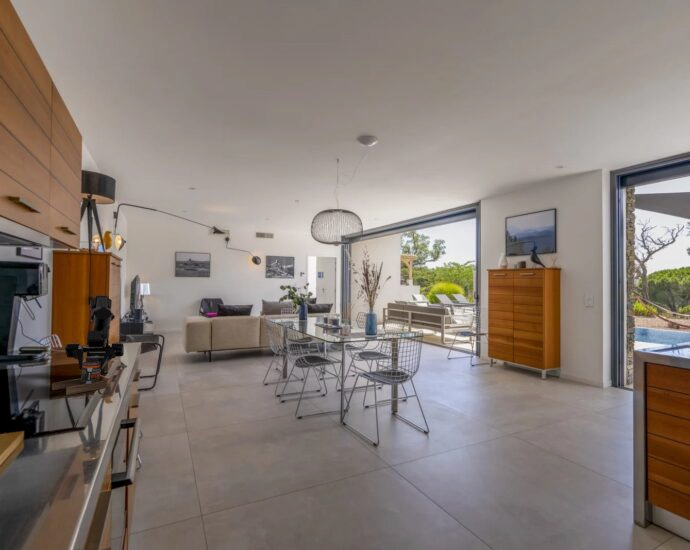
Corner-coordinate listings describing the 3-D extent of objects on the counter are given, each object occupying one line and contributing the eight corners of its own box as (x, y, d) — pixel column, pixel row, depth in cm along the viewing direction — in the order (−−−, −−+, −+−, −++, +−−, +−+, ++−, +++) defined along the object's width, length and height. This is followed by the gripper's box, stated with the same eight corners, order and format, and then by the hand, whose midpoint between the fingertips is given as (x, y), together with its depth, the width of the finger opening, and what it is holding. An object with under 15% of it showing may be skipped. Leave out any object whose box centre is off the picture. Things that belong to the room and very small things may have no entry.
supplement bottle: (92, 389, 135) (94, 358, 135) (76, 388, 135) (78, 357, 135) (103, 385, 140) (105, 355, 141) (88, 384, 141) (90, 354, 141)
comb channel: (51, 390, 131) (52, 380, 131) (94, 382, 144) (95, 373, 144) (66, 395, 126) (67, 384, 126) (109, 386, 139) (110, 377, 139)
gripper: (68, 322, 139) (56, 356, 128) (125, 322, 146) (118, 355, 135) (72, 340, 145) (61, 374, 135) (126, 339, 153) (120, 372, 142)
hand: (90, 368), depth 137 cm, fingers open, 6 cm apart
